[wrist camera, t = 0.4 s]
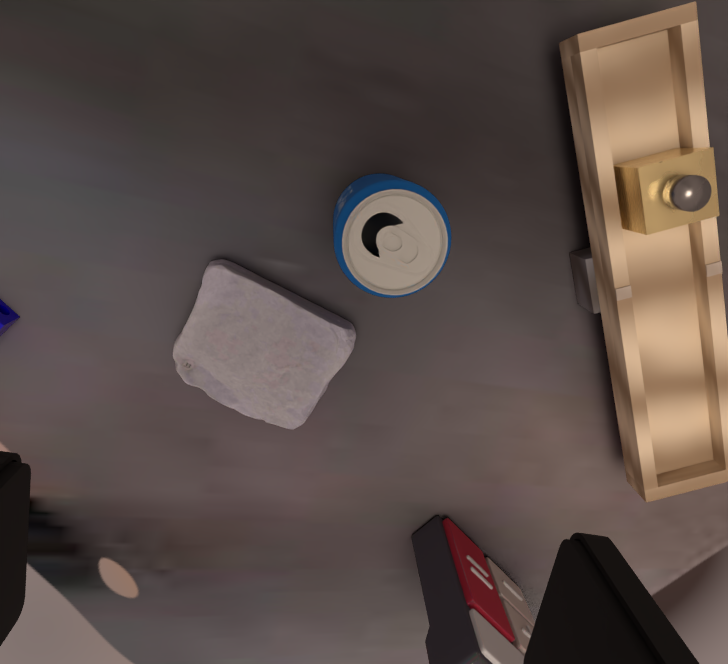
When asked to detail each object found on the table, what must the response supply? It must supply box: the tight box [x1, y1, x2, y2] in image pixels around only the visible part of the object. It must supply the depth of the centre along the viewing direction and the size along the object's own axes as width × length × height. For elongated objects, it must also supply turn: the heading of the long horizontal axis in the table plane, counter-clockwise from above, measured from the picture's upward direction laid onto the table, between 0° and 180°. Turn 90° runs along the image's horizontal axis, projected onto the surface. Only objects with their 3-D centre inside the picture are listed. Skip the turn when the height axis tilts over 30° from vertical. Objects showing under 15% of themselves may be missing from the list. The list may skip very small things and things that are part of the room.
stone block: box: [173, 259, 356, 429], centre depth 45 cm, size 12×5×10 cm
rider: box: [613, 147, 719, 235], centre depth 37 cm, size 4×4×6 cm
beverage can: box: [333, 174, 451, 298], centre depth 38 cm, size 6×6×12 cm
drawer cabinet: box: [412, 516, 535, 664], centre depth 45 cm, size 11×4×15 cm, turn 42°
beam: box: [559, 1, 728, 502], centre depth 43 cm, size 32×8×6 cm, turn 15°
